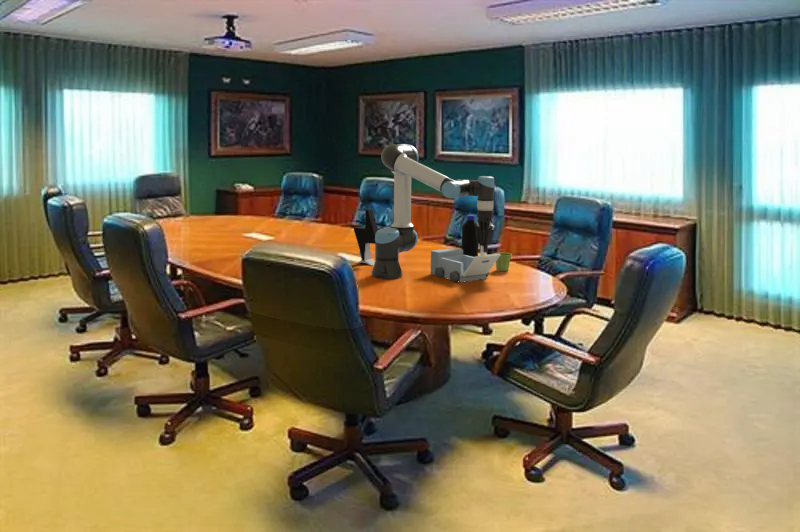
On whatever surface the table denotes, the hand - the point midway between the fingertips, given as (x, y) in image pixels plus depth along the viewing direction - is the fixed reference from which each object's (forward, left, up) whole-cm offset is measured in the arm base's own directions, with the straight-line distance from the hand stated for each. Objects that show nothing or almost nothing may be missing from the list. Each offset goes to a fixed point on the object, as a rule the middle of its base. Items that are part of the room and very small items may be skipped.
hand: (483, 258), depth 336 cm
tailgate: (0, +6, -9) cm, 11 cm away
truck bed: (0, +19, -12) cm, 22 cm away
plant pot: (+30, +19, -12) cm, 37 cm away
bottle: (+20, +34, -12) cm, 41 cm away
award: (-21, +71, -12) cm, 75 cm away
